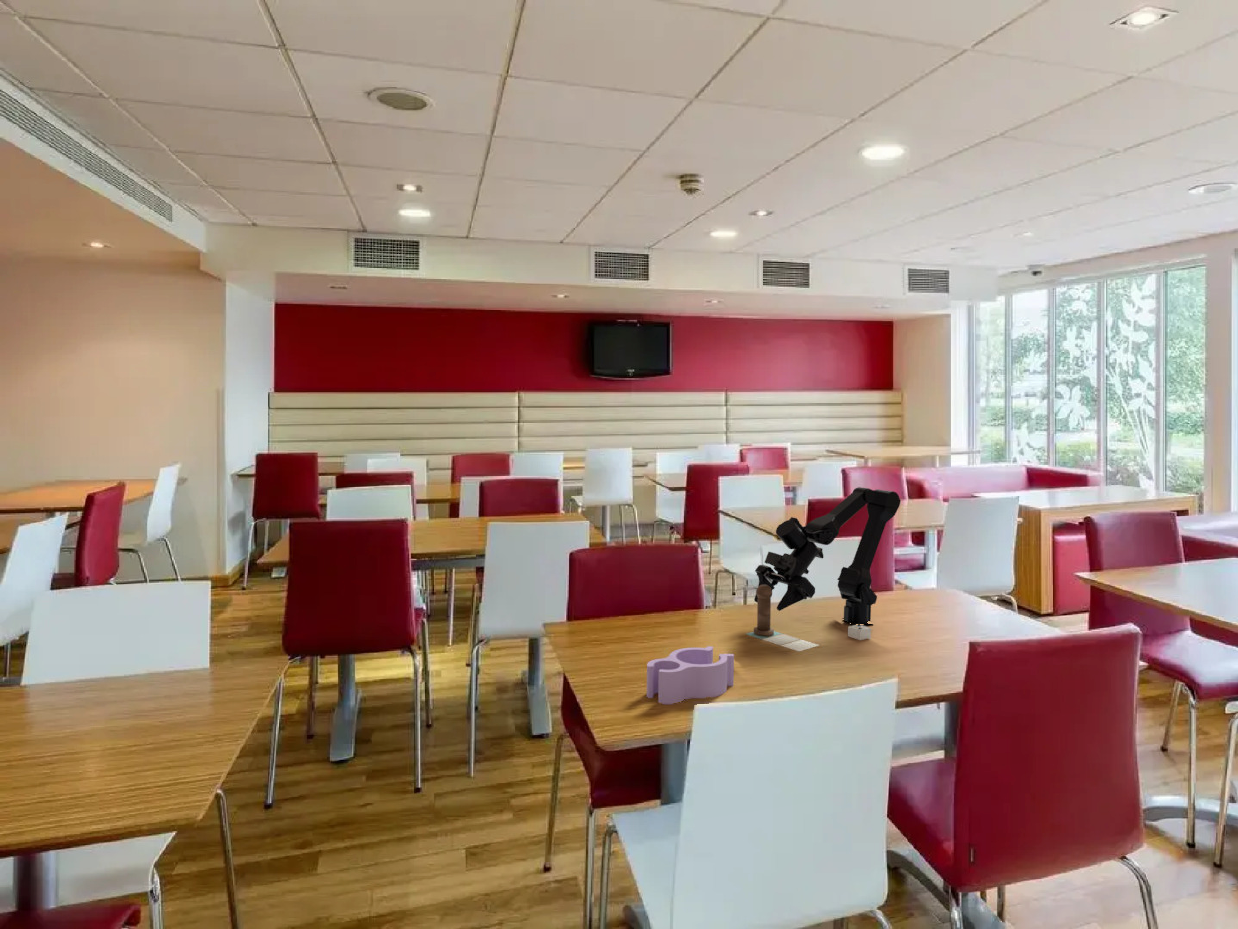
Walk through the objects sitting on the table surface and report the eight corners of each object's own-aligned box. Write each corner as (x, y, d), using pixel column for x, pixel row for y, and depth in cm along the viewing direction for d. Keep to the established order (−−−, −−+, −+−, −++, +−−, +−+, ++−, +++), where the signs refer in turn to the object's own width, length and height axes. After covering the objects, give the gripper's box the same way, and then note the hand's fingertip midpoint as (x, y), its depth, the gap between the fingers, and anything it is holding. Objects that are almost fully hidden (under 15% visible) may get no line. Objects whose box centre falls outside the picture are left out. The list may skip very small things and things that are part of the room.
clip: (672, 711, 149) (673, 677, 149) (634, 692, 159) (634, 660, 159) (742, 689, 161) (743, 657, 161) (702, 672, 171) (703, 643, 171)
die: (858, 639, 196) (858, 623, 196) (870, 643, 193) (871, 626, 193) (847, 641, 194) (848, 625, 194) (860, 645, 191) (860, 629, 191)
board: (741, 638, 196) (741, 633, 196) (764, 632, 201) (764, 627, 201) (800, 658, 181) (800, 652, 181) (823, 650, 186) (823, 645, 186)
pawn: (773, 631, 198) (773, 582, 197) (774, 637, 193) (775, 587, 192) (753, 630, 199) (753, 582, 198) (754, 636, 194) (754, 586, 193)
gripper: (761, 535, 205) (727, 579, 201) (807, 546, 188) (772, 594, 184) (782, 561, 209) (750, 604, 205) (830, 574, 193) (796, 621, 188)
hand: (766, 605), depth 196 cm, fingers open, 9 cm apart
